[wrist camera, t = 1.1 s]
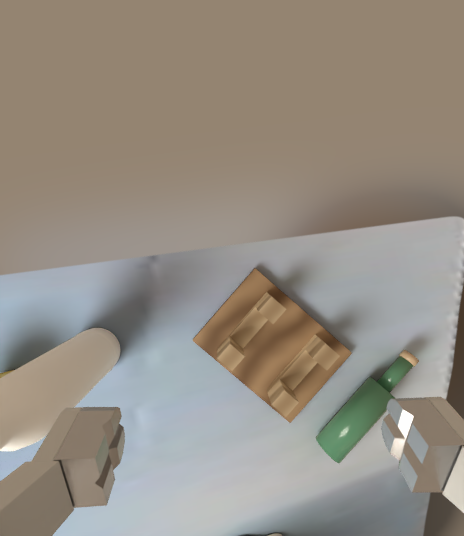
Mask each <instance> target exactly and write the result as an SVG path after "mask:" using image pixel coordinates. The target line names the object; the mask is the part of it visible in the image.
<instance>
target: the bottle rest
mask: <svg viewBox="0 0 464 536" xmlns="http://www.w3.org/2000/svg"><path fill="white" fill-rule="evenodd" d="M193 341H194V342H195V343H196V344H197V345H198V346H200V347H201V348H202V349H203V350H204V351H206V352H207V353H208V354H209V355H210V356H212V357H213V358H214V359H215V360H216V361H217V362H219V363H220V364H221V365H222V366H223V367H225V368H226V369H227V370H228V371H229V372H230V373H232V374H233V375H234V376H235V377H236V378H238V379H239V380H240V381H241V382H242V383H243V384H245V385H246V386H247V387H248V388H249V389H251V390H252V391H253V392H254V393H255V394H256V395H258V396H259V397H260V398H261V399H262V400H264V401H265V402H266V403H267V404H268V405H270V406H271V407H272V408H273V409H274V410H275V411H277V412H278V413H279V414H280V415H281V416H283V417H284V418H285V419H286V420H287V421H288V422H290V423H291V421H292V420H293V419H294V418H295V417H296V416H297V415H298V414H299V412H300V411H301V410H302V409H303V408H304V407H305V406H306V404H307V403H308V402H309V401H310V400H311V399H312V398H313V397H314V395H315V394H316V393H317V392H318V391H319V390H320V389H321V388H322V386H323V385H324V384H325V383H326V382H327V381H328V380H329V378H330V377H331V376H332V375H333V374H334V373H335V372H336V371H337V369H338V368H339V367H340V366H341V365H342V364H343V363H344V362H345V360H346V359H347V358H348V357H349V356H350V355H351V354H352V353H351V352H350V351H349V350H348V349H347V348H346V347H345V346H343V345H342V344H341V343H340V342H339V341H338V340H337V339H335V338H334V337H333V336H332V335H331V334H330V333H329V332H327V331H326V330H325V329H324V328H323V327H322V326H321V325H319V324H318V323H317V322H316V321H315V320H314V319H313V318H311V317H310V316H309V315H308V314H307V313H306V312H305V311H303V310H302V309H301V308H300V307H299V306H298V305H297V304H295V303H294V302H293V301H292V300H291V299H290V298H289V297H287V296H286V295H285V294H284V293H283V292H282V291H281V290H279V289H278V288H277V287H276V286H275V285H274V284H273V283H271V282H270V281H269V280H268V279H267V278H266V277H265V276H263V275H262V274H261V273H260V272H259V271H258V270H257V269H255V268H254V270H253V271H252V272H251V273H250V274H249V275H248V276H247V278H246V279H245V280H244V281H243V282H242V283H241V284H240V286H239V287H238V288H237V289H236V290H235V291H234V292H233V294H232V295H231V296H230V297H229V298H228V299H227V300H226V302H225V303H224V304H223V305H222V306H221V307H220V308H219V310H218V311H217V312H216V313H215V314H214V315H213V317H212V318H211V319H210V320H209V321H208V322H207V323H206V325H205V326H204V327H203V328H202V329H201V330H200V331H199V333H198V334H197V335H196V336H195V337H194V338H193Z"/></svg>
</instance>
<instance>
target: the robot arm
mask: <svg viewBox="0 0 464 536" xmlns="http://www.w3.org/2000/svg"><path fill="white" fill-rule="evenodd" d="M386 409H387V410H388V412H389V413H390V414H389V415H387V416H386V417H385V418H384V419H383V423H382V435H383V439H384V442H385V445H386V447H387V448H388V450H389V452H390V454H392V455H393V456H394V457H396V458H397V459H398V460H399V470H400V472H401V474H402V475H403V477H404V479H405V481H406V483H407V484H408V486H409V488H410V490H411V491H412V492H443V495H444V496H445V497H446V498H448V499H449V500H450V501H451V502H452V503H453V504H454V505H455V506H456V507H458V508H459V509H460V510H461V511H462V512H463V513H464V420H463V419H462V418H461V417H460V415H459V414H458V413H457V412H456V411H455V410H454V409H453V408H452V406H451V405H450V404H449V403H448V402H447V401H446V400H445V399H443V398H441V397H426V398H398V399H391V400H390V401H389V402H388V404H387V407H386ZM120 419H121V412H120V408H118V407H83V408H65V409H64V410H63V411H62V412H61V413H60V414H59V416H58V418H57V419H56V421H55V423H54V424H53V426H52V428H51V430H50V431H49V433H48V435H47V436H46V438H45V440H44V441H43V443H42V445H41V446H40V448H39V450H38V451H37V453H36V455H35V456H34V458H33V460H32V461H31V462H25V463H24V464H22V465H21V466H20V467H18V468H17V469H16V470H15V471H13V472H12V473H11V474H9V475H8V476H7V477H6V478H4V479H3V480H2V481H0V536H52V535H53V534H54V533H55V532H56V530H57V529H58V528H59V527H60V526H61V524H62V523H63V522H64V521H65V520H66V519H67V517H68V516H69V515H70V514H71V513H72V512H73V510H74V508H76V507H90V506H103V505H107V503H108V500H109V497H110V493H111V490H112V487H113V484H114V481H115V477H114V472H113V470H114V469H115V468H116V467H117V466H118V465H119V464H120V461H121V458H122V454H123V449H124V443H125V433H124V427H123V426H121V425H120V424H119V422H120ZM268 536H282V535H281V534H278V533H276V534H271V535H268Z"/></svg>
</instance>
